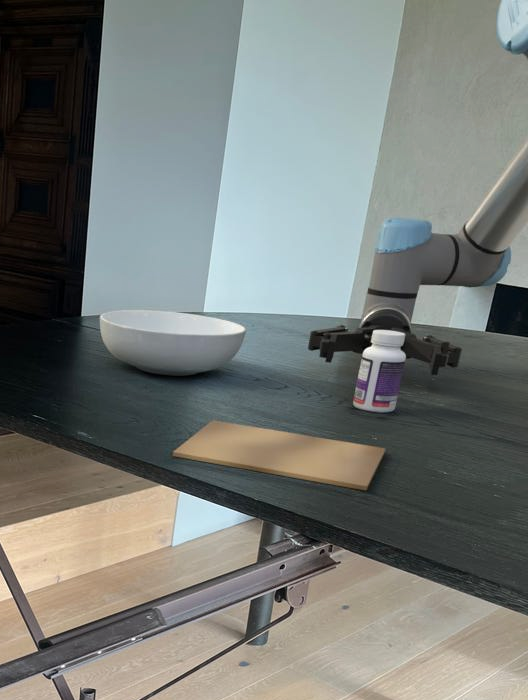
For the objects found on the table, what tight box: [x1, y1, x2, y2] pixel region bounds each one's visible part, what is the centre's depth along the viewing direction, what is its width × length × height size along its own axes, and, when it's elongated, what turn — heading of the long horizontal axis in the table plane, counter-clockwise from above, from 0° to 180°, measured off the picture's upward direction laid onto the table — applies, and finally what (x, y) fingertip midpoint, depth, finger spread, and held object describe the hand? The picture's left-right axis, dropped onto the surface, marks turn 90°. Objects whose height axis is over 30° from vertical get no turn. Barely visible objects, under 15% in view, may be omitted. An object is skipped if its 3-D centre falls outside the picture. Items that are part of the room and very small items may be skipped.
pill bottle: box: [352, 330, 407, 414], centre depth 128 cm, size 5×5×10 cm
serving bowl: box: [99, 309, 247, 377], centre depth 143 cm, size 21×21×7 cm
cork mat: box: [172, 419, 387, 491], centre depth 107 cm, size 20×16×1 cm
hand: (382, 358), depth 131 cm, fingers open, 13 cm apart
